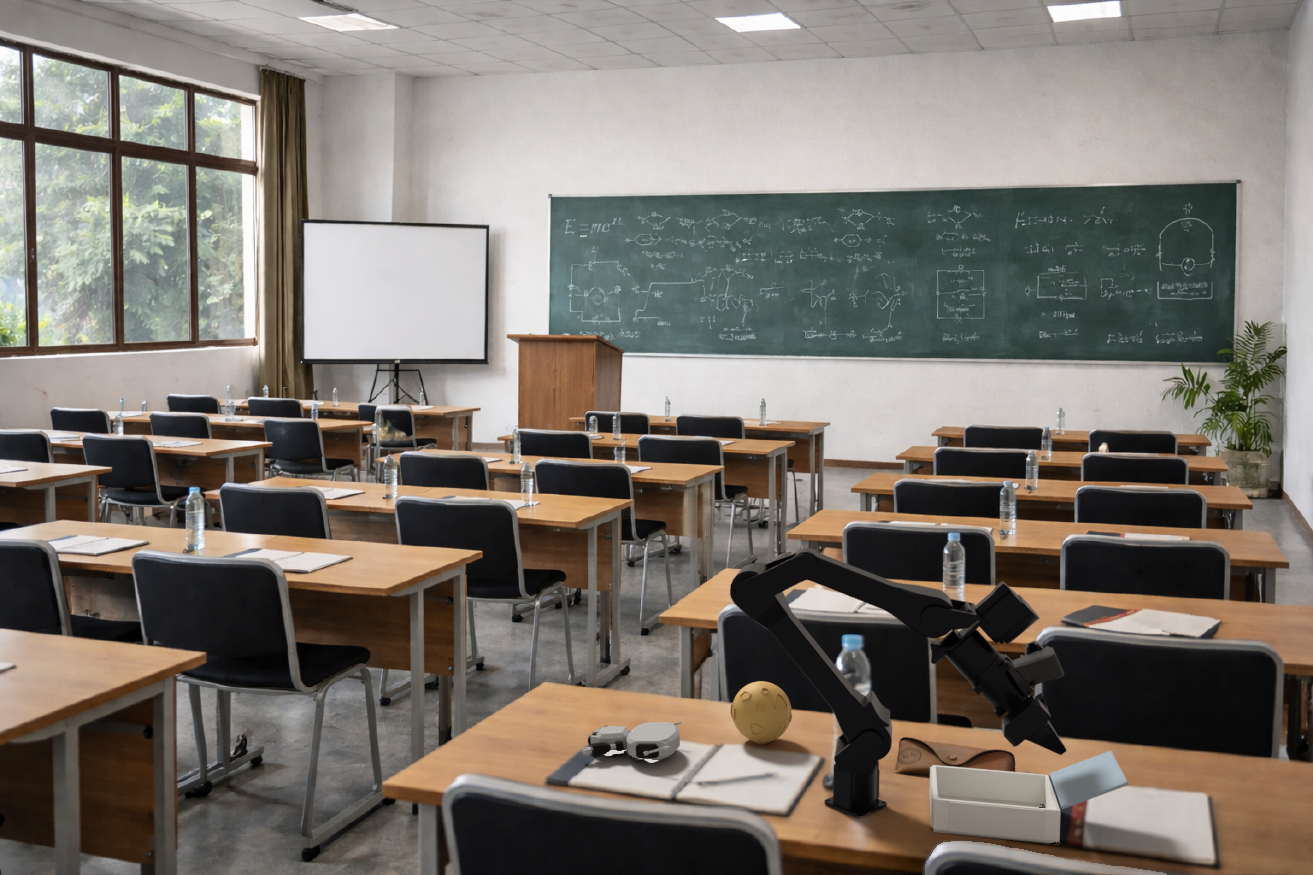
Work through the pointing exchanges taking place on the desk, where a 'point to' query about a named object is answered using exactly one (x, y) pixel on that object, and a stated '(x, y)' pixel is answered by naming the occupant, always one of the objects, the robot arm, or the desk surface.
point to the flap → (1088, 779)
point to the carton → (993, 804)
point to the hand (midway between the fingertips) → (1063, 752)
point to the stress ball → (761, 712)
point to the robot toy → (636, 740)
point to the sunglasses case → (948, 757)
